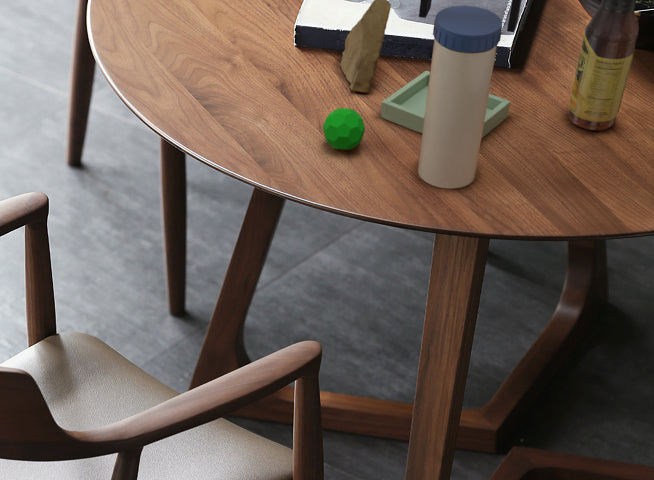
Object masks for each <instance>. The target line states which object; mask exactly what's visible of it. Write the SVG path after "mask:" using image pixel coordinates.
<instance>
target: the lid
mask: <svg viewBox="0 0 654 480" xmlns="http://www.w3.org/2000/svg"><path fill="white" fill-rule="evenodd" d="M432 29H433V30H432V35H433V40H434V39H435V40H436V41H437V42H438V43H439V44H441V45H443V46H445V47H447V48H450V49H452V50H457V51H462V52H481V51H486V50H489V49H492V48H494V47H495V46H496V45H497V46H498V45H499V43H500V42H501V38H502V32H503V31H502V30H503V20H502V19H501V17H500V16H499V15H498V14H496V13H495V12H493V11H491V10H489V9H486V8H483V7H479V6H474V5H473V6H472V5H455V6H449V7H446V8H443V9H441V10H440V11H438V12H437V13H436V15H435V18H434V23H433V28H432Z"/></svg>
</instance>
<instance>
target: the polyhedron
mask: <svg viewBox="0 0 654 480" xmlns="http://www.w3.org/2000/svg"><path fill="white" fill-rule="evenodd" d="M322 130H323V134H324V139H325V141H326V143H327V144H328V145H329V146H331V147H332V148H333V149H336V150H342V151H343V150H344V151H345V150H346V151H348V150H349V151H350V150H352V149H354V148H355V147H357V146H359V144H360V143H361V142H362V140H363V137H364V135H365V131H366V129H365V122H364V120H363V118H362V115H361V114H359V113H358V112H357V111H356V110H355V109H353V108H346V107H340V108H336V109H335V110H333V111H331V112H330V113H328V115H327V116H326V118H325V121H324V123H323V126H322Z"/></svg>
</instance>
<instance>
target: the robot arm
mask: <svg viewBox="0 0 654 480" xmlns="http://www.w3.org/2000/svg"><path fill="white" fill-rule="evenodd" d="M432 1H433V0H420V3H419V12H418V18H421V19H427V17H428V14H429V12H430V10H431V8H432ZM522 1H523V0H511V6H510V11H509V17H508V23H507V28H506V32H509V33H515V31H516V27H517V24H518V21H519V17H520V11H521V6H522Z"/></svg>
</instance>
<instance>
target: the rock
mask: <svg viewBox="0 0 654 480" xmlns="http://www.w3.org/2000/svg"><path fill="white" fill-rule="evenodd" d="M391 9H392V4H391V3H390V2H389V1H388V0H373V1H372V2H371V4H370V5H369V7H368V8H367V10H366V11H365V12H364V13H363V15H362V17H361V18H360V19H359V20H358V21H357V23H356V24H355V25H354V26H353V27H352V28H351V29H350V31H349V33H348V34H347V36H346V38H345V42H344V50H343V51H342V52H341V55H342V57H341V60H340V63H339V66H340V67H341V71H342V72H343V74H344V76H345V77H346V80H347V81H348V82H349V83H350V85H349V89H350V90H351V91H352V92H358V93H365V94H367V93H369V92H370V89H371V86H372V82H373V81H374V77H375V74H376V70H377V65H378V62H379V58H380V54H381V50H382V47H383V43H384V38H385V35H386V34H385V33H386V29H387V24H388V21H389V17H390V12H391Z"/></svg>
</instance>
